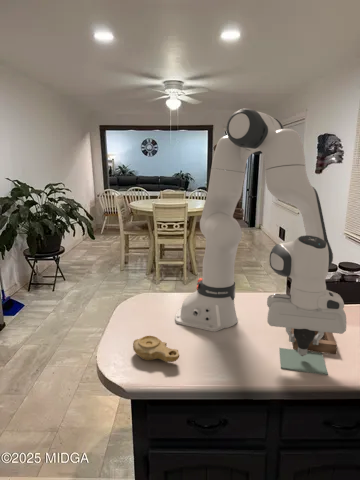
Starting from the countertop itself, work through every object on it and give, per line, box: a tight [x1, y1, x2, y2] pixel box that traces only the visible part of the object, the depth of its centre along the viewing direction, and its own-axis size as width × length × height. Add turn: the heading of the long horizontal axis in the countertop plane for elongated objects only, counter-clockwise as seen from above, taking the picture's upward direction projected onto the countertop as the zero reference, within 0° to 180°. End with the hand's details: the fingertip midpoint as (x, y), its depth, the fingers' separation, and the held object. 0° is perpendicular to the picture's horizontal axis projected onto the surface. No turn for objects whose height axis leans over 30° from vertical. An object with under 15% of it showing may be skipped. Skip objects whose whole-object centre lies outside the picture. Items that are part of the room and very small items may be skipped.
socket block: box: [290, 328, 338, 355], centre depth 103 cm, size 12×12×3 cm
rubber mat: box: [279, 347, 329, 376], centre depth 93 cm, size 12×10×1 cm
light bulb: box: [294, 329, 315, 356], centre depth 91 cm, size 6×6×10 cm
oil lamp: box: [132, 335, 180, 363], centre depth 95 cm, size 11×14×5 cm
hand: (303, 342), depth 92 cm, fingers closed on light bulb, 5 cm apart
